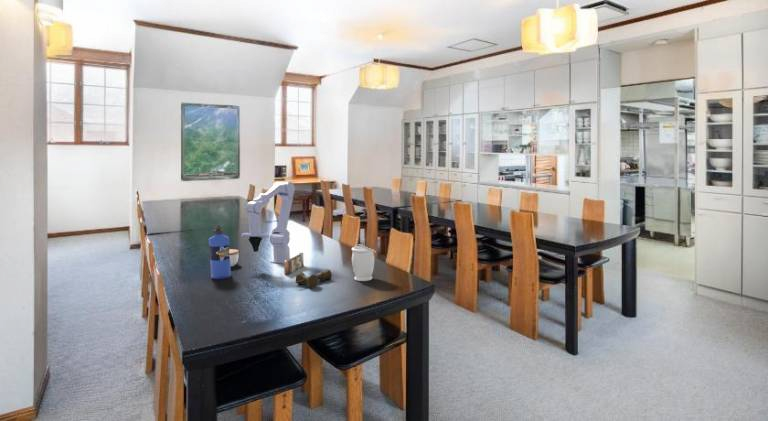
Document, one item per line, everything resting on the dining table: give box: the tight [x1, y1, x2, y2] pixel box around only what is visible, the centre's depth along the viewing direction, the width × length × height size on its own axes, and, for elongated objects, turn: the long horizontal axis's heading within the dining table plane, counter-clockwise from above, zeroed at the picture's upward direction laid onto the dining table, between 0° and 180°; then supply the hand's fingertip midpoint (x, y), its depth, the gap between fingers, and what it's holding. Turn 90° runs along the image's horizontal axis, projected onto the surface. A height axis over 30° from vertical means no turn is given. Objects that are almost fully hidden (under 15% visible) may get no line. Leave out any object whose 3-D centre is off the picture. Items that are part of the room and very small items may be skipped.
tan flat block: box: [288, 254, 302, 274], centre depth 229 cm, size 14×2×7 cm, turn 165°
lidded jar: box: [229, 248, 240, 268], centre depth 240 cm, size 11×11×9 cm
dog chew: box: [295, 269, 333, 289], centre depth 205 cm, size 6×10×20 cm
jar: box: [351, 245, 375, 282], centre depth 211 cm, size 11×10×15 cm
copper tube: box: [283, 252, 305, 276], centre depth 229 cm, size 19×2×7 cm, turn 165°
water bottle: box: [208, 224, 232, 280], centre depth 218 cm, size 9×9×25 cm
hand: (255, 251), depth 231 cm, fingers closed
